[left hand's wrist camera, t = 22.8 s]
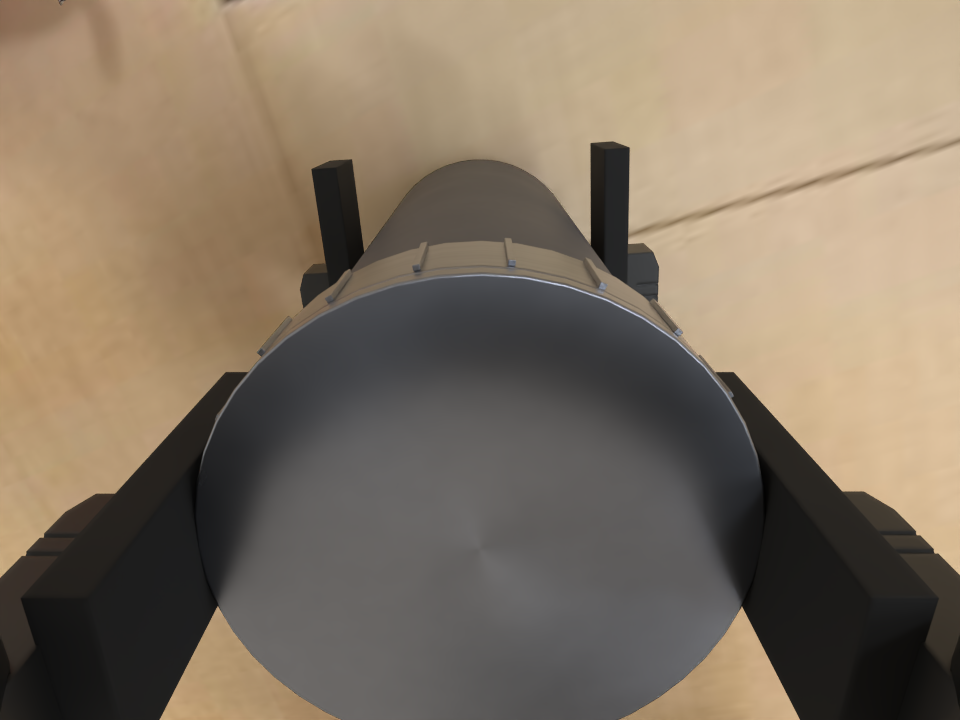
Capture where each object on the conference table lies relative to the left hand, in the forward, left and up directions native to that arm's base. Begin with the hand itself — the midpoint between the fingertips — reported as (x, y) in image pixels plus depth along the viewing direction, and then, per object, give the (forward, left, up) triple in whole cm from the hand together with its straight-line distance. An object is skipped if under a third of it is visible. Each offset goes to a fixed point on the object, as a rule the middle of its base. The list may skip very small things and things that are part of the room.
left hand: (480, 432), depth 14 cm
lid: (0, 0, +3) cm, 3 cm away
